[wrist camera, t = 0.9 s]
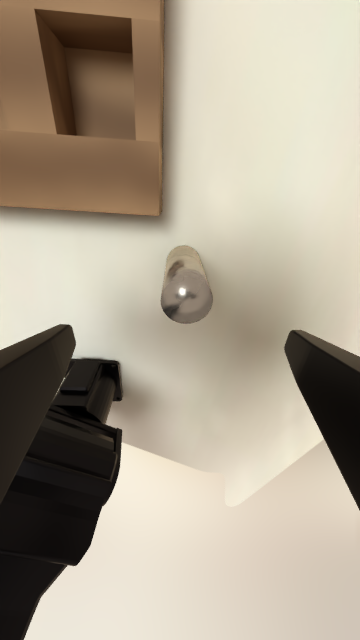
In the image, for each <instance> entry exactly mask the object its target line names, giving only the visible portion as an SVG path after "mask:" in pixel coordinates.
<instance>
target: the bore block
mask: <svg viewBox="0 0 360 640" xmlns="http://www.w3.org/2000/svg"><path fill="white" fill-rule="evenodd" d="M163 69H164V0H0V206H10V207H26V208H42V209H58V210H73V211H89V212H105V213H121V214H137V215H153V216H159V215H160V213H161V212H162V148H163Z"/></svg>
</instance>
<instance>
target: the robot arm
mask: <svg viewBox="0 0 360 640" xmlns="http://www.w3.org/2000/svg"><path fill="white" fill-rule="evenodd" d="M75 346H76V341H75V337H74V333H73V329H72V327H71V326H70V325H65V324H60V325H57V326H55V327H52V328H50V329H48V330H46V331H43V332H41V333H39V334H36V335H34V336H32V337H29V338H27V339H25V340H23V341H20V342H18V343H16V344H13V345H11V346H9V347H7V348H4V349H2V350H0V640H24V638H25V635H26V632H27V630H28V627H29V625H30V622H31V620H32V617H33V614H34V612H35V610H36V607H37V605H38V603H39V600H40V598H41V596H42V595H43V594H44V593H45V592H46V590H47V589H48V588H49V587H50V586H51V585H52V583H53V582H54V581H55V580H56V579H57V577H58V576H59V575H60V574H61V573H62V571H63V570H64V569H65V568H66V567H67V565H71V566H76V565H77V564H78V563H79V562H80V560H81V559H82V557H83V556H84V555H85V553H86V552H87V550H88V548H89V547H90V545H91V541H92V538H93V535H94V531H95V528H96V524H97V521H98V517H99V514H100V511H101V509H102V506H104V505H105V504H106V502H107V501H108V499H109V497H110V495H111V493H112V491H113V489H114V486H115V483H116V481H117V477H118V473H119V468H120V458H121V441H122V430H121V429H119V428H117V429H116V428H113V427H111V426H108V425H105V423H106V420H107V417H108V414H109V411H110V407H111V404H112V401H121V400H122V397H123V395H122V386H121V378H120V369H119V363H118V362H116V361H102V360H73V359H71V358H72V355H73V352H74V349H75ZM284 350H285V353H286V356H287V359H288V362H289V364H290V367H291V370H292V373H293V375H294V378H295V380H296V383H297V385H298V387H299V389H300V391H301V393H302V395H303V397H304V399H305V401H306V403H307V405H308V407H309V409H310V411H311V413H312V415H313V417H314V419H315V421H316V423H317V425H318V427H319V429H320V431H321V433H322V435H323V437H324V439H325V441H326V443H327V446H328V448H329V449H330V451H331V454H332V455H333V457H334V459H335V462H336V464H337V466H338V468H339V469H340V471H341V474H342V476H343V478H344V480H345V482H346V484H347V486H348V488H349V490H350V492H351V494H352V496H353V498H354V500H355V502H356V504H357V506H358V508H359V510H360V357H359V356H357V355H354V354H352V353H350V352H348V351H346V350H344V349H341V348H339V347H337V346H335V345H333V344H331V343H328V342H326V341H324V340H322V339H320V338H318V337H315V336H313V335H311V334H309V333H307V332H305V331H302V330H292V331H290V333H289V335H288V338H287V341H286V344H285V347H284ZM114 365H115V366H114ZM64 377H65V379H64ZM63 379H64V381H63ZM62 381H63V382H62ZM61 383H62V384H61ZM60 385H61V386H60ZM58 389H59V390H58ZM57 391H58V392H57ZM56 393H57V394H56Z"/></svg>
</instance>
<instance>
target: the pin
mask: <svg viewBox="0 0 360 640" xmlns="http://www.w3.org/2000/svg"><path fill="white" fill-rule="evenodd" d="M212 302H213V297H212V293H211V290H210V287H209V284H208V281H207V278H206V275H205V272H204V269H203V267H202V264H201V261H200V258H199V255H198V253H197V252H196V251H195V250H194V249H193V248H191V247H189V246H178V247H176V248H174V249H173V250H172V251H171V252H170V253H169V255H168V257H167V262H166V269H165V275H164V281H163V288H162V294H161V306H162V309H163V311H164V313H165V314H166V315H167V316H168V317H169V318H170V319H172V320H173V321H176V322H178V323H184V324H188V323H194V322H197V321H199V320H201V319H202V318H204V317H205V316H206V315H207V314H208V312H209V311H210V309H211V306H212Z"/></svg>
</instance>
